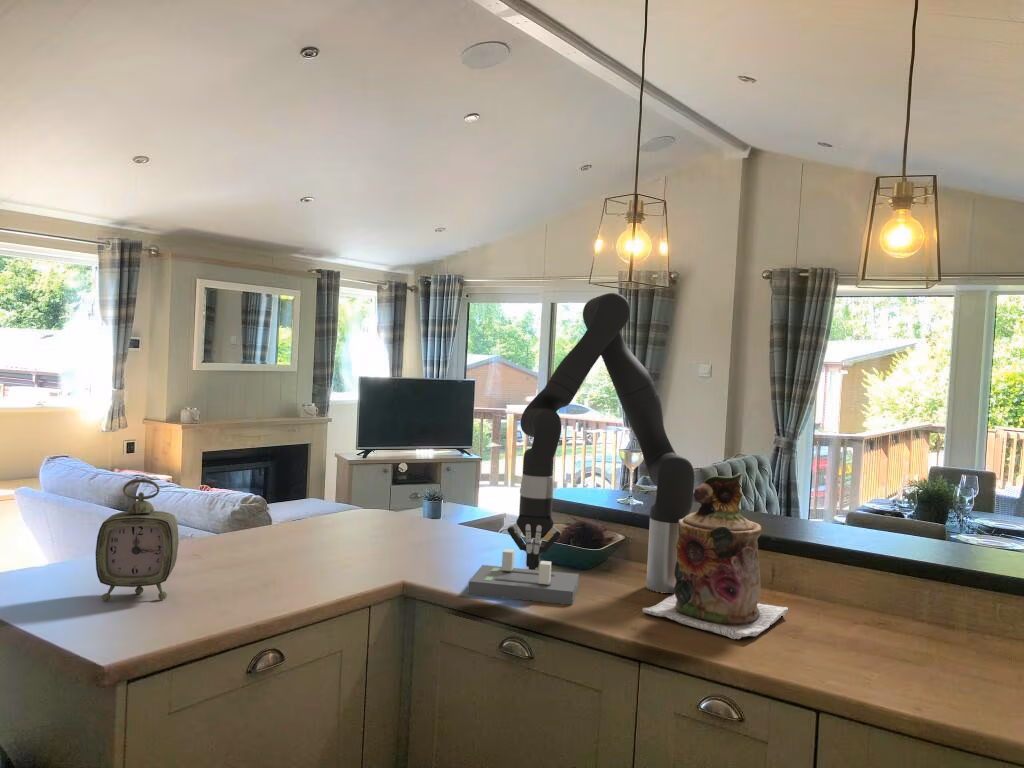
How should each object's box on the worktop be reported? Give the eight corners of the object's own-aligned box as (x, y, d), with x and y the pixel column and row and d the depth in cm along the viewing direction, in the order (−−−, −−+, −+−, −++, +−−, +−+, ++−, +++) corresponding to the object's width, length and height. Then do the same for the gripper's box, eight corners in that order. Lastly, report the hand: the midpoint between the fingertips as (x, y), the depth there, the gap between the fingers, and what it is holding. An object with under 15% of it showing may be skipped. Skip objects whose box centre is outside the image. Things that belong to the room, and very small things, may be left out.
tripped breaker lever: (550, 580, 173) (551, 561, 172) (548, 584, 170) (549, 564, 169) (540, 579, 173) (541, 560, 173) (538, 583, 170) (539, 563, 170)
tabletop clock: (93, 604, 151) (98, 482, 151) (104, 591, 160) (109, 475, 159) (170, 602, 155) (175, 482, 155) (177, 589, 164) (182, 476, 163)
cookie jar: (688, 592, 181) (695, 461, 181) (790, 617, 166) (798, 474, 165) (637, 615, 162) (645, 469, 162) (747, 646, 147) (756, 484, 146)
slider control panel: (578, 586, 181) (578, 573, 181) (572, 605, 167) (573, 591, 167) (481, 576, 186) (482, 564, 186) (468, 594, 171) (468, 580, 171)
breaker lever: (513, 568, 182) (514, 549, 182) (511, 571, 179) (512, 552, 179) (503, 567, 183) (504, 548, 182) (501, 570, 180) (502, 551, 180)
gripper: (566, 494, 174) (562, 567, 174) (511, 489, 176) (507, 562, 176) (563, 499, 166) (559, 576, 167) (505, 494, 169) (501, 570, 169)
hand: (532, 568), depth 172 cm, fingers closed
